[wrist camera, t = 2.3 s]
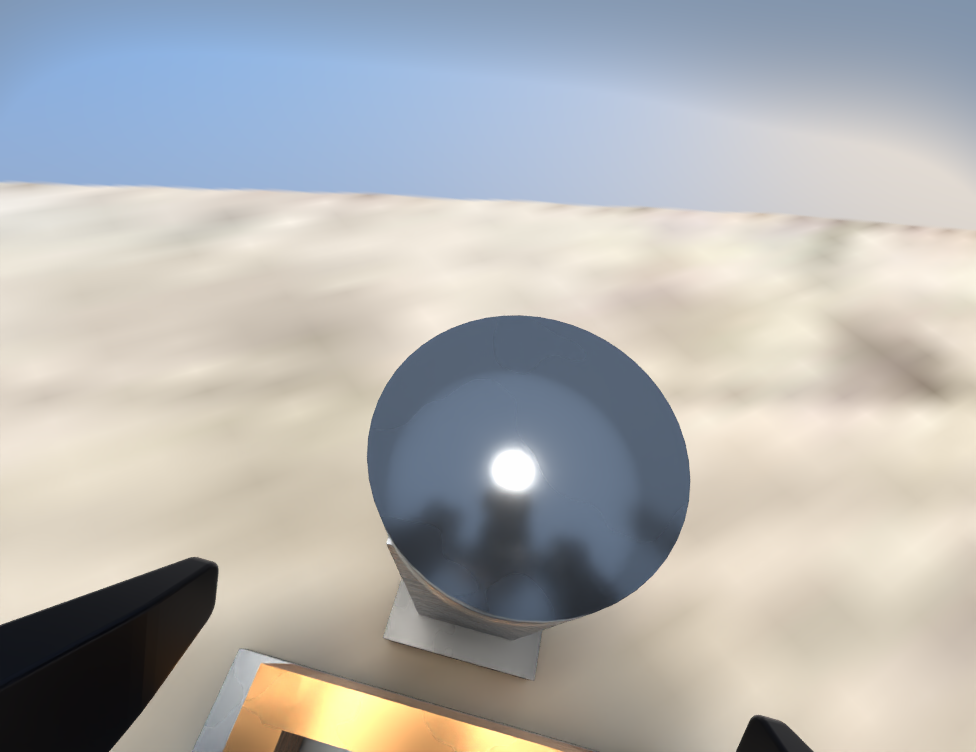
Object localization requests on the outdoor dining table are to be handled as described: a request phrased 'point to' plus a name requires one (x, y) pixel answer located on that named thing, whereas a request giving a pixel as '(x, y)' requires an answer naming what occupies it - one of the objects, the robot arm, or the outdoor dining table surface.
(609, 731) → the outdoor dining table surface
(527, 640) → the grey piece
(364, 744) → the keeper cradle
